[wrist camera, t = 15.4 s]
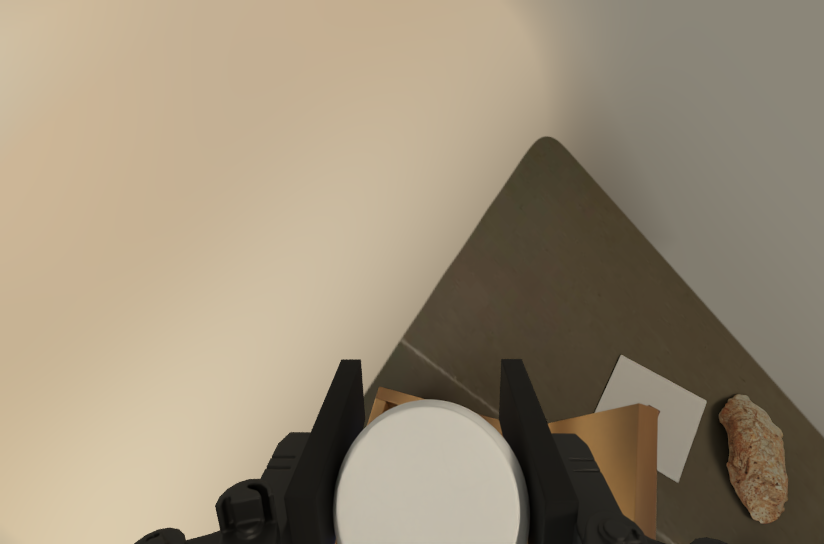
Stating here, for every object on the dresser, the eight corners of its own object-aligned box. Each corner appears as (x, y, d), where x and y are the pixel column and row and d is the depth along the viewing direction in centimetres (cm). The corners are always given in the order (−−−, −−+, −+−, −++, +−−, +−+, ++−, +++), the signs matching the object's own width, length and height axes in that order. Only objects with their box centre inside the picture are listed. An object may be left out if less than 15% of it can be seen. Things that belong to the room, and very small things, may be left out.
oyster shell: (714, 512, 35) (790, 534, 33) (727, 510, 32) (811, 533, 30) (712, 393, 40) (779, 405, 38) (723, 381, 37) (797, 394, 35)
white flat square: (621, 354, 40) (628, 349, 39) (706, 400, 38) (719, 397, 36) (587, 428, 38) (594, 425, 36) (677, 482, 35) (690, 482, 34)
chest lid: (624, 782, 12) (652, 791, 12) (638, 402, 16) (658, 408, 16) (500, 633, 22) (514, 637, 22) (530, 426, 26) (542, 430, 26)
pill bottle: (481, 599, 16) (536, 732, 7) (349, 547, 17) (257, 608, 8) (510, 451, 18) (577, 415, 9) (392, 413, 19) (356, 349, 10)
